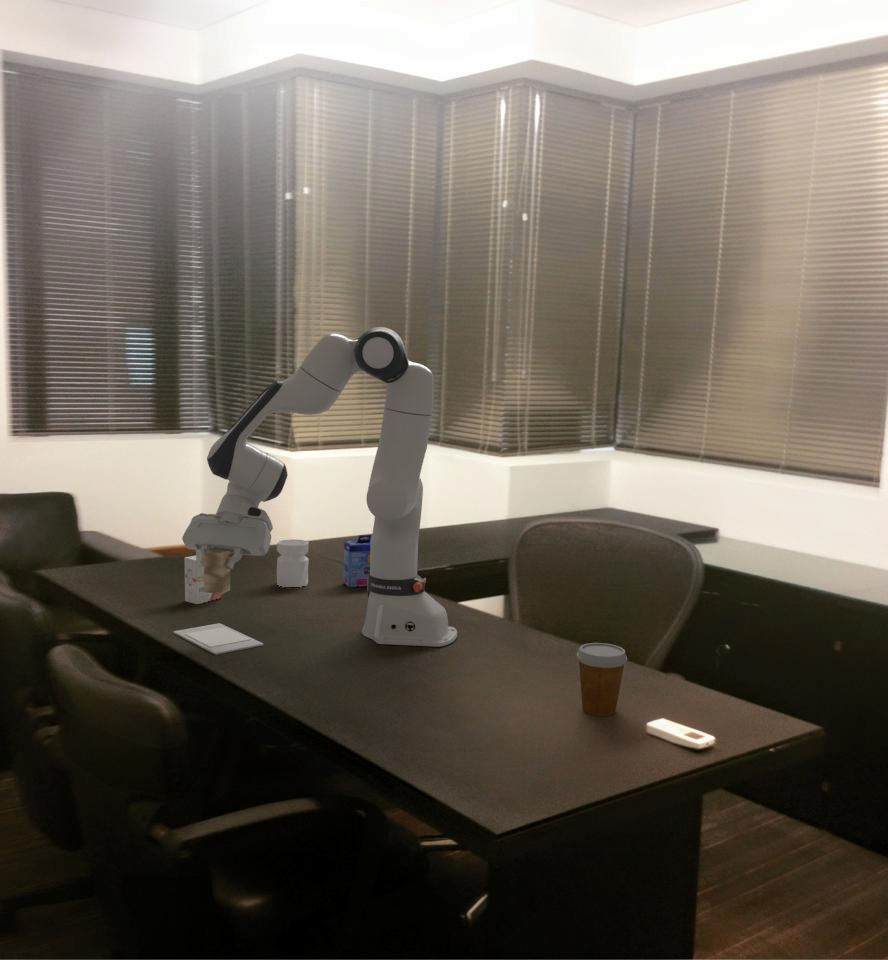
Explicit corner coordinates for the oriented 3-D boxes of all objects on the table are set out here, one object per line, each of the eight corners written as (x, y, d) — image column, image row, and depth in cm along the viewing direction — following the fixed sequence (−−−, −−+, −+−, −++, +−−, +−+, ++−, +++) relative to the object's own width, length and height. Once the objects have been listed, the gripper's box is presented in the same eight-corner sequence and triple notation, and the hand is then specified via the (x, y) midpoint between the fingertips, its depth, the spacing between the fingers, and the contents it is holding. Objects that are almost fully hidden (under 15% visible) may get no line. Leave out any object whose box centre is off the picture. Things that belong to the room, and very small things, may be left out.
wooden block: (230, 590, 232) (230, 551, 231) (222, 594, 228) (222, 554, 227) (212, 588, 233) (212, 549, 232) (203, 592, 229) (204, 552, 228)
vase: (271, 586, 282) (271, 543, 281) (285, 579, 291) (285, 538, 289) (300, 589, 280) (300, 546, 278) (313, 582, 288) (313, 540, 286)
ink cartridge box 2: (348, 588, 283) (349, 536, 281) (342, 583, 288) (343, 533, 286) (381, 585, 288) (383, 534, 286) (374, 580, 292) (375, 531, 290)
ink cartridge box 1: (209, 595, 271) (209, 540, 269) (222, 598, 268) (222, 543, 266) (183, 601, 264) (183, 545, 262) (196, 604, 261) (196, 548, 259)
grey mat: (173, 633, 236) (173, 630, 236) (219, 624, 244) (219, 622, 244) (215, 654, 221) (215, 652, 221) (263, 645, 229) (263, 642, 229)
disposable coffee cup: (590, 697, 202) (593, 639, 200) (633, 710, 196) (636, 649, 194) (564, 710, 195) (567, 649, 193) (607, 723, 189) (611, 660, 187)
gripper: (190, 505, 237) (169, 554, 229) (272, 512, 233) (253, 562, 225) (199, 520, 242) (178, 569, 234) (279, 527, 238) (261, 578, 230)
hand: (216, 566), depth 229 cm, fingers closed on wooden block, 4 cm apart
